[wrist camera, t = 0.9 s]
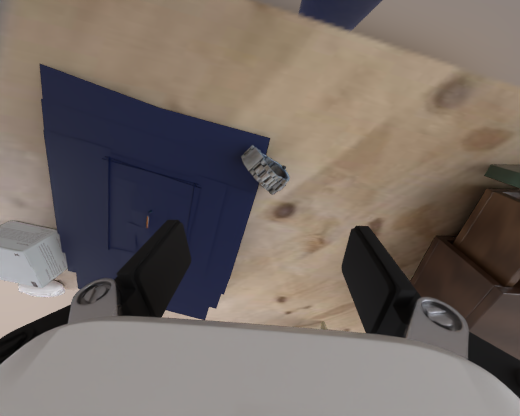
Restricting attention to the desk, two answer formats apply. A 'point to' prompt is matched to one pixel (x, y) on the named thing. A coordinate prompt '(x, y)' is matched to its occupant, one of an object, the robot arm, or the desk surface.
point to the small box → (30, 254)
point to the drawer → (495, 229)
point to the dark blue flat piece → (144, 184)
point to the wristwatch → (265, 170)
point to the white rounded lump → (43, 289)
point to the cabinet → (471, 294)
